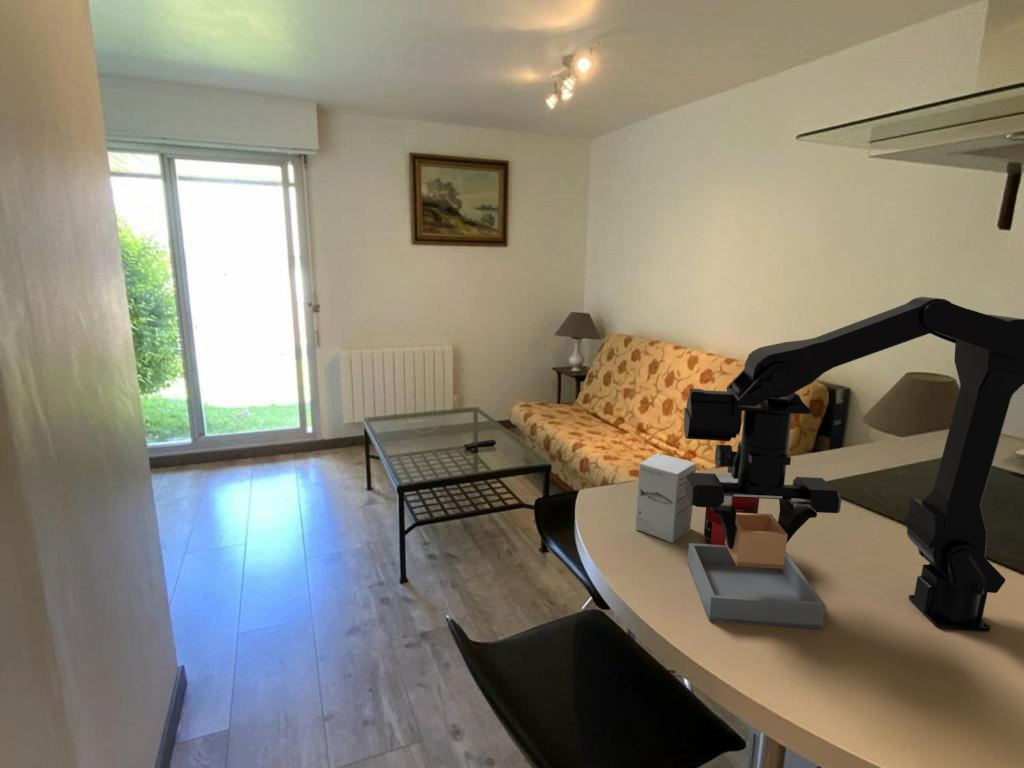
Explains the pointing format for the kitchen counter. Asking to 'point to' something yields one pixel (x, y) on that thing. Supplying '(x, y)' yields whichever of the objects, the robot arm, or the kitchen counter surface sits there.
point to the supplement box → (664, 497)
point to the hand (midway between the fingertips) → (753, 548)
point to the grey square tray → (753, 591)
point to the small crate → (758, 541)
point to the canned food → (713, 521)
